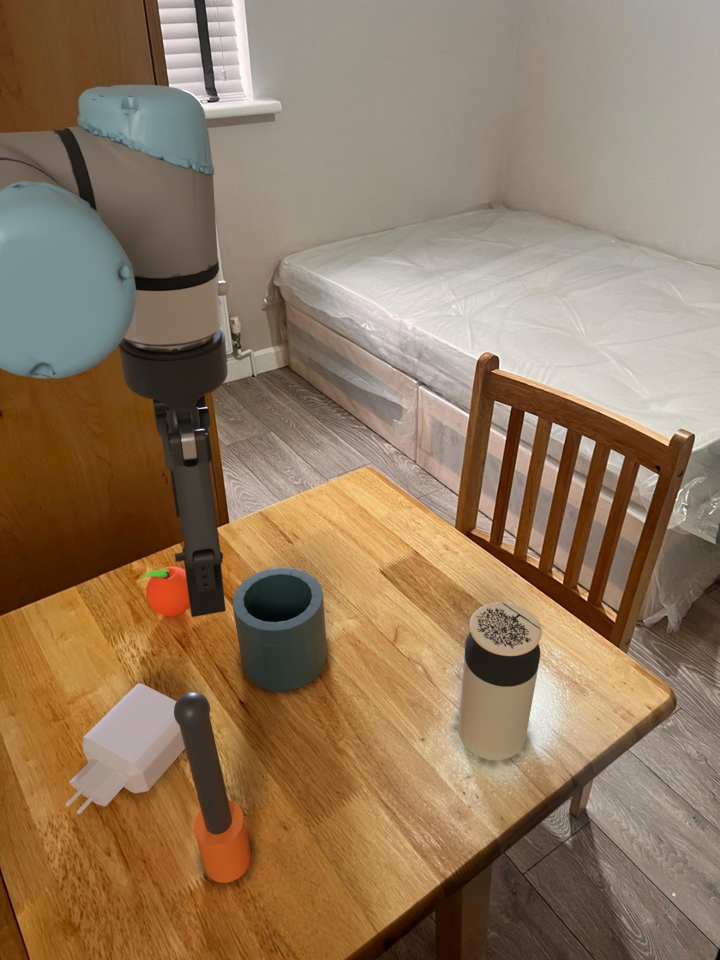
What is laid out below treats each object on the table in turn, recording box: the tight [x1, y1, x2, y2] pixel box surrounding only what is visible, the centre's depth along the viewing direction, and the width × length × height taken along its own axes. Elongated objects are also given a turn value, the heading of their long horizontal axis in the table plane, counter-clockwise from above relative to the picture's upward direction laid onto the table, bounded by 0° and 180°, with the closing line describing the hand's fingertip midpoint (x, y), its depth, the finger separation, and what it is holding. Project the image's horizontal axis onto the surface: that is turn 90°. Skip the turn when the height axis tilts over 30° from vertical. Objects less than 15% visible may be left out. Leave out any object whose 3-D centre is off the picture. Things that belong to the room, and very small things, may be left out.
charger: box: [65, 682, 185, 815], centre depth 83 cm, size 5×9×15 cm
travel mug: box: [457, 601, 543, 761], centre depth 82 cm, size 8×8×18 cm
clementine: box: [139, 566, 190, 617], centre depth 103 cm, size 8×7×7 cm
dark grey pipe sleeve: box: [232, 567, 328, 692], centre depth 94 cm, size 11×11×11 cm
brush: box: [174, 691, 252, 884], centre depth 68 cm, size 5×5×26 cm
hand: (198, 558), depth 64 cm, fingers open, 13 cm apart
